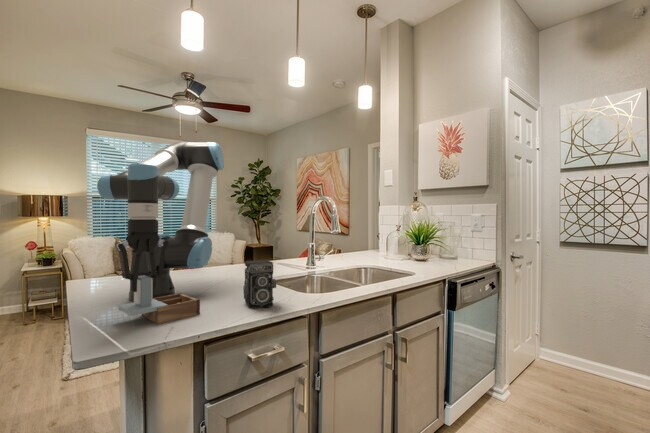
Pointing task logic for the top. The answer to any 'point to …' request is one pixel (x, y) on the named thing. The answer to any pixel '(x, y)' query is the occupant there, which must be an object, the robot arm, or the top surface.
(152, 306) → the lid plate
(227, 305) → the top surface
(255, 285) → the camera
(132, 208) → the robot arm
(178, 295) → the walnut box
